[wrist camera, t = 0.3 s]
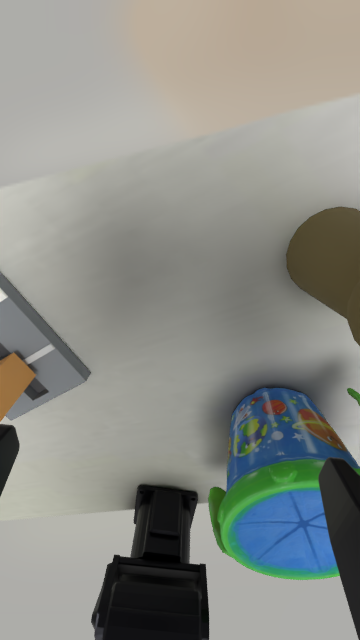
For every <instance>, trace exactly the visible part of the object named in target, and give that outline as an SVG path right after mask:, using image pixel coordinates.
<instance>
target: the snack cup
mask: <svg viewBox="0 0 360 640" xmlns="http://www.w3.org/2000/svg"><path fill="white" fill-rule="evenodd" d="M347 391H348V393H349V395H351V396H352V397H353V398H354V399H356V400H357V402H358V404H359V406H360V394H359V393H357V392H356V391H355V390H353V389H351V388H348V389H347ZM328 457H335V458H342V459H344V460H345V461H346V462H347V463H348V464H349V465H350V466H351V467H352V468H353V469H354V470H355V471H356V472H357V473H358V474H359V475H360V467H359V466H358V464H357V462H356V461H355V460H354V458H353V457H352V455H351V454H350V452H349V451H348V450H347V448H346V447H345V445H344V444H343V442H342V441H341V439H340V438H339V436H338V435H337V434H336V433H335V431H334V430H333V429H332V427H331V426H330V425H329V424H328V422H327V421H326V419H325V418H324V416H323V414H322V413H321V412H320V411H319V410H318V409H317V407H316V405H315V404H314V403H313V402H312V401H311V400H310V399H309V398H308V396H307V395H305V394H303V393H301V392H296V391H293V390H289V389H285V388H272V389H268V388H261V389H259V390H257V391H256V392H255V393H254V394H252V395H249V396H247V397H245V398H244V399H243V400H242V401H241V403H240V404H239V405H238V406H237V408H236V410H235V411H234V412H233V414H232V421H231V426H230V439H229V448H228V461H227V490H226V491H224V490H222V489H221V488H219V487H213V488H211V490H210V494H209V498H208V501H209V511H210V516H211V522H212V527H213V532H214V535H215V538H216V541H217V544H218V546H219V547H220V549H221V550H222V552H223V553H225V554H227V555H229V556H230V557H232V558H234V559H235V560H236V561H237V562H239V563H240V564H242V565H243V566H245V567H247V568H249V569H251V570H254V571H256V572H259V573H262V574H265V575H269V576H273V577H278V578H284V579H296V580H308V579H324V578H330V577H336V576H340V574H339V571H338V567H337V564H336V560H335V557H334V554H333V550H332V546H331V543H330V538H329V534H328V529H327V524H326V518H325V513H324V508H323V503H322V498H321V492H320V487H319V481H318V477H319V473H320V471H321V469H322V467H323V465H324V463H325V461H326V459H327V458H328Z"/></svg>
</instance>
